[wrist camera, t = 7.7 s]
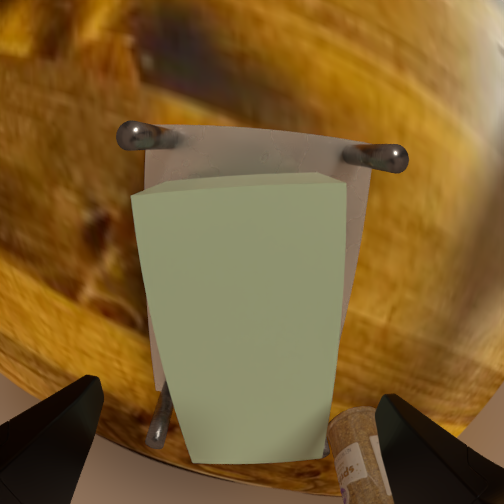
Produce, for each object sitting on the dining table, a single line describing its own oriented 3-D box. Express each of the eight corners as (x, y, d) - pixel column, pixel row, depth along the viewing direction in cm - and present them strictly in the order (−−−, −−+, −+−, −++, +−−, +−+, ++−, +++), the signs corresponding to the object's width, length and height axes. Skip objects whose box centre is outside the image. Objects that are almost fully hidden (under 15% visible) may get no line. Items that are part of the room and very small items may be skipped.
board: (166, 181, 12) (130, 195, 8) (317, 172, 12) (346, 183, 8) (201, 406, 16) (192, 462, 12) (310, 402, 16) (322, 458, 12)
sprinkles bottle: (317, 417, 21) (349, 580, 8) (374, 394, 20) (436, 549, 8) (334, 446, 22) (364, 584, 9) (384, 425, 22) (434, 558, 9)
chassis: (153, 126, 15) (102, 116, 9) (366, 144, 15) (424, 145, 9) (159, 381, 20) (136, 447, 14) (320, 391, 20) (336, 459, 14)
